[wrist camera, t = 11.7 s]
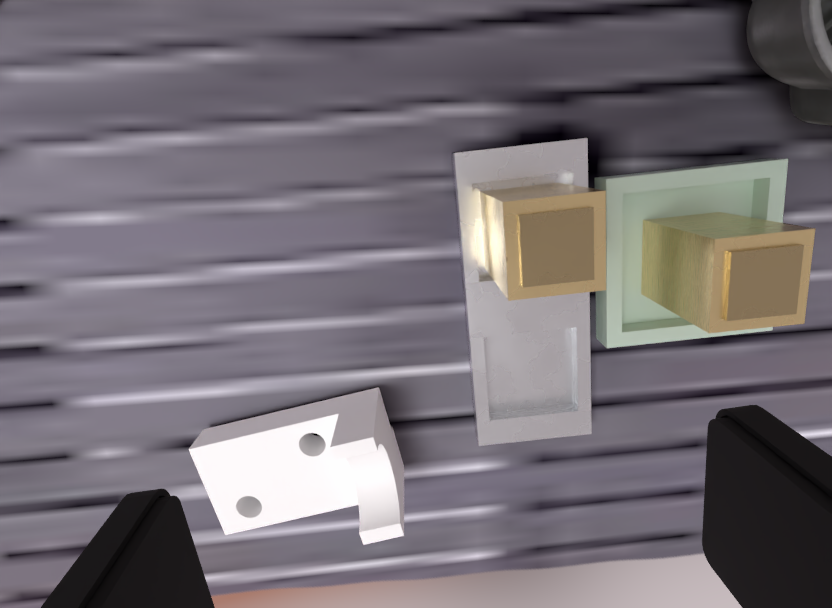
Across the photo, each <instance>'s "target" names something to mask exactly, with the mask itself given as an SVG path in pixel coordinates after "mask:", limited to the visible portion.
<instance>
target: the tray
mask: <svg viewBox="0 0 832 608" xmlns="http://www.w3.org/2000/svg"><path fill="white" fill-rule="evenodd" d="M787 168H788V159H758V160H749V161H740V162H731V163H723V164H714V165H705V166H696V167H687V168H678V169H669V170H660V171H651V172H642V173H633V174H624V175H615V176H606V177H598V178H595V189H600V190H605V191H606V290H603V291H596V338H597V339H598V340H599V341H600V342H601V343H602V344H603V345H604V346H605V347H606V348H614V347H623V346H632V345H642V344H651V343H660V342H669V341H678V340H688V339H697V338H706V337H715V336H725V335H734V334H743V333H752V332H761V331H771V330H773V327H766V328H757V329H747V330H737V331H727V332H718V333H707V332H706V331H704V330H702V329H701V328H699V327H697V326H695V325H694V324H692V323H690V322H688V321H687V320H685V319H683V318H682V317H680V316H678V315H676V314H675V313H673V312H671V311H670V310H668V309H666V308H664V307H663V306H661V305H659V304H657V303H656V302H654V301H652V300H651V299H649V298H647V297H645V296H644V295H642V294H641V279H642V234H643V220H648V219H658V218H667V217H677V216H686V215H696V214H705V213H715V212H723V213H729V214H734V215H740V216H746V217H752V218H757V219H763V220H769V221H774V222H780V223H782V222H783V211H784V200H785V190H786V179H787Z"/></svg>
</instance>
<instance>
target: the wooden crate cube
mask: <svg viewBox="0 0 832 608" xmlns="http://www.w3.org/2000/svg"><path fill="white" fill-rule="evenodd" d="M814 235H815V228H809V227H803V226H797V225H792V224H786V223H780V222H774V221H769V220H763V219H757V218H752V217H746V216H740V215H734V214H729V213H723V212H715V213H705V214H696V215H686V216H677V217H667V218H658V219H648V220H643V234H642V279H641V294H642V295H644V296H645V297H647V298H649V299H651V300H652V301H654V302H656V303H657V304H659V305H661V306H663V307H664V308H666V309H668V310H670V311H671V312H673V313H675V314H676V315H678V316H680V317H682V318H683V319H685V320H687V321H688V322H690V323H692V324H694V325H695V326H697V327H699V328H701V329H702V330H704V331H706V332H707V333H718V332H727V331H737V330H747V329H757V328H766V327H776V326H786V325H795V324H804V321H805V313H806V304H807V295H808V287H809V278H810V270H811V261H812V252H813V244H814Z"/></svg>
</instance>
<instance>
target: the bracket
mask: <svg viewBox="0 0 832 608" xmlns="http://www.w3.org/2000/svg"><path fill="white" fill-rule="evenodd" d="M311 433H315V434H318V435H320V436H315V435H313V434H311ZM189 451H190V454H191V456H192V458H193V461H194V463H195V465H196V468H197V470H198V472H199V475H200V477H201V479H202V482H203V484H204V486H205V489H206V491H207V493H208V496H209V498H210V500H211V502H212V505H213V507H214V509H215V512H216V514H217V516H218V519H219V521H220V523H221V526H222V528H223V530H224V533H225V535H228V534H232V533H237V532H241V531H246V530H250V529H254V528H259V527H263V526H267V525H272V524H276V523H280V522H285V521H289V520H294V519H298V518H302V517H307V516H311V515H315V514H320V513H324V512H328V511H333V510H337V509H342V508H346V507H350V506H355V505H359V516H360V528H359V534H360V537H361V539H362V542H363V545H365V544H369V543H374V542H378V541H383V540H387V539H391V538H396V537H400V536H404V464H403V461H402V457H401V454H400V451H399V447H398V444H397V441H396V437H395V434H394V431H393V427H392V426H390V423H389V419H388V416H387V413H386V409H385V406H384V403H383V399H382V396H381V392H380V389H379V387H378V388H374V389H369V390H365V391H361V392H357V393H353V394H349V395H344V396H340V397H336V398H332V399H328V400H324V401H319V402H315V403H311V404H307V405H303V406H299V407H294V408H290V409H286V410H282V411H278V412H274V413H269V414H265V415H261V416H257V417H253V418H249V419H245V420H240V421H236V422H232V423H228V424H224V425H220V426H215V427H211V428H207V429H203V431H202V432H201V433H200V435H199V436H198V437H197V439H196V440H195V442H194V443H193V444H192V446H191V447H190V448H189Z"/></svg>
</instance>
